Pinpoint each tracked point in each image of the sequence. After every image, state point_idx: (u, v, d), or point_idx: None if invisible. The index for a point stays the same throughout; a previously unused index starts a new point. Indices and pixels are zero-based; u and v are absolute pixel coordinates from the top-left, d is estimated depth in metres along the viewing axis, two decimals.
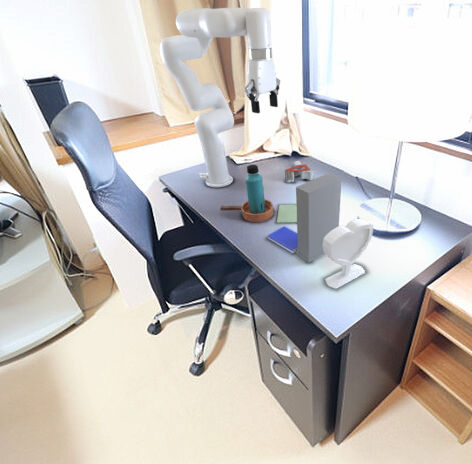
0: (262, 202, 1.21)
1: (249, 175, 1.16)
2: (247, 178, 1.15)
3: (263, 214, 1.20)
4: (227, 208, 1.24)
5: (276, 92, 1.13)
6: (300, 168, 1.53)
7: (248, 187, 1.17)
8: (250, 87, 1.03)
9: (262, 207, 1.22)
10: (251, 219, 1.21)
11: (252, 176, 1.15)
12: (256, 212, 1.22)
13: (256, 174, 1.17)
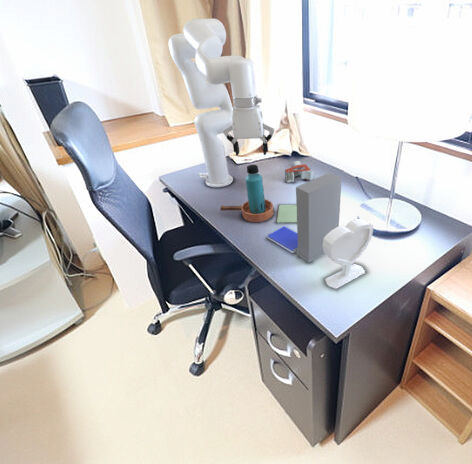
0: (262, 202, 1.21)
1: (249, 175, 1.16)
2: (247, 178, 1.15)
3: (263, 214, 1.20)
4: (227, 208, 1.24)
5: (264, 141, 1.08)
6: (300, 168, 1.53)
7: (248, 187, 1.17)
8: (227, 130, 1.06)
9: (262, 207, 1.22)
10: (251, 219, 1.21)
11: (252, 176, 1.15)
12: (256, 212, 1.22)
13: (256, 174, 1.17)
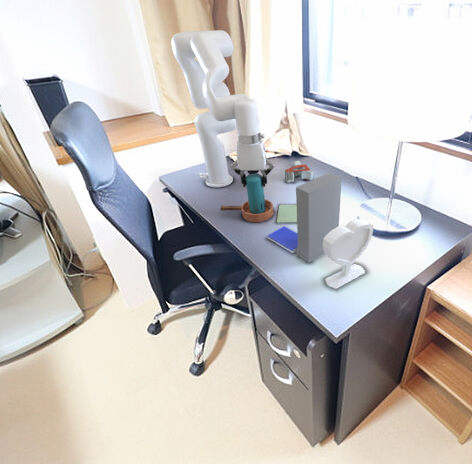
0: (262, 202, 1.21)
1: (249, 175, 1.16)
2: (247, 178, 1.15)
3: (263, 214, 1.20)
4: (227, 208, 1.24)
5: (264, 174, 1.15)
6: (300, 168, 1.53)
7: (248, 187, 1.17)
8: (234, 165, 1.14)
9: (262, 207, 1.22)
10: (251, 219, 1.21)
11: (252, 176, 1.15)
12: (256, 212, 1.22)
13: (256, 174, 1.17)
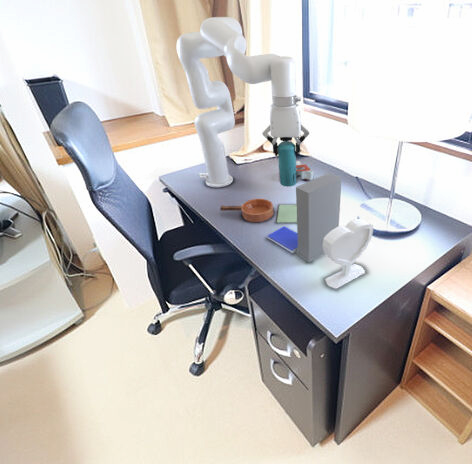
0: (294, 173, 1.14)
1: (282, 143, 1.09)
2: (280, 146, 1.08)
3: (263, 214, 1.20)
4: (227, 208, 1.24)
5: (298, 142, 1.08)
6: (300, 168, 1.53)
7: (280, 156, 1.10)
8: (266, 131, 1.07)
9: (294, 179, 1.15)
10: (251, 219, 1.21)
11: (285, 144, 1.08)
12: (287, 184, 1.15)
13: (289, 142, 1.10)
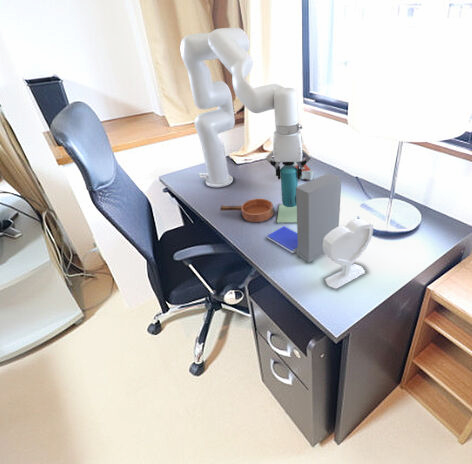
0: None
1: (284, 167, 1.14)
2: (282, 170, 1.13)
3: (263, 214, 1.20)
4: (227, 208, 1.24)
5: (299, 166, 1.13)
6: None
7: (283, 179, 1.15)
8: (269, 156, 1.12)
9: None
10: (251, 219, 1.21)
11: (287, 168, 1.13)
12: (290, 205, 1.20)
13: (291, 166, 1.15)
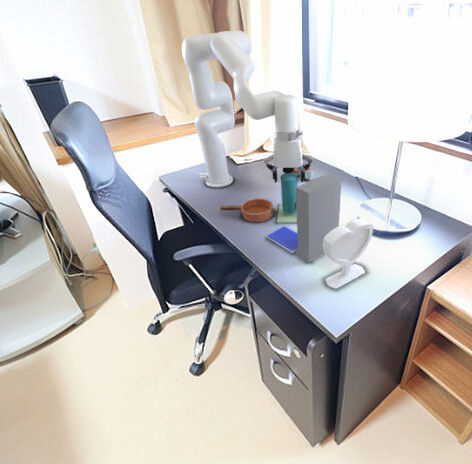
0: None
1: (284, 174, 1.16)
2: (283, 177, 1.15)
3: (263, 214, 1.20)
4: (227, 208, 1.24)
5: (303, 170, 1.14)
6: None
7: (283, 186, 1.17)
8: (268, 159, 1.12)
9: (296, 206, 1.22)
10: (251, 219, 1.21)
11: (288, 175, 1.15)
12: (290, 211, 1.22)
13: (291, 173, 1.16)
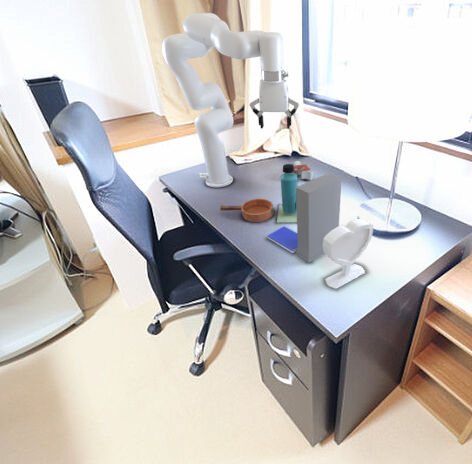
0: None
1: (284, 174, 1.16)
2: (283, 177, 1.15)
3: (263, 214, 1.20)
4: (227, 208, 1.24)
5: (289, 115, 1.12)
6: (300, 168, 1.53)
7: (283, 186, 1.17)
8: (254, 103, 1.11)
9: (296, 206, 1.22)
10: (251, 219, 1.21)
11: (288, 175, 1.15)
12: (290, 211, 1.22)
13: (291, 173, 1.16)
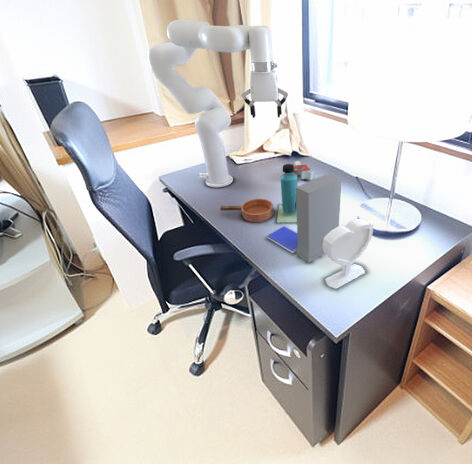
0: None
1: (284, 174, 1.16)
2: (283, 177, 1.15)
3: (263, 214, 1.20)
4: (227, 208, 1.24)
5: (279, 104, 1.19)
6: (300, 168, 1.53)
7: (283, 186, 1.17)
8: (245, 93, 1.18)
9: (296, 206, 1.22)
10: (251, 219, 1.21)
11: (288, 175, 1.15)
12: (290, 211, 1.22)
13: (291, 173, 1.16)
